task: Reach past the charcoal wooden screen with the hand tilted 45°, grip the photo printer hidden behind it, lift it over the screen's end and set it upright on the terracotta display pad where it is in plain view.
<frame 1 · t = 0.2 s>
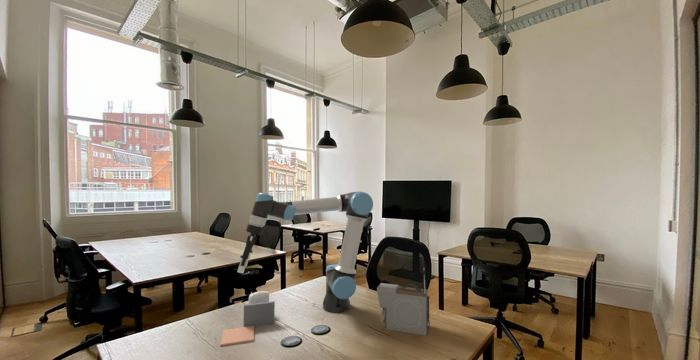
hand: (242, 269, 134), 27 cm above the table, tool tilted 15°, fingers open, 13 cm apart
display pad: (238, 336, 126), on the table
photo printer: (258, 316, 146), on the table
portable television: (403, 327, 135), on the table
screen: (259, 324, 137), on the table
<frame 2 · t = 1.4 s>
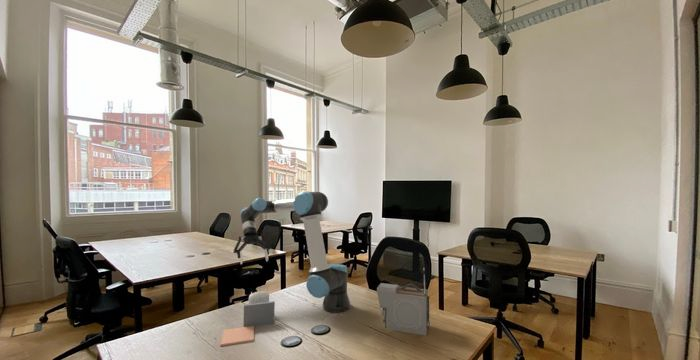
hand: (254, 261, 156), 26 cm above the table, tool tilted 45°, fingers open, 13 cm apart
nothing on the table moved.
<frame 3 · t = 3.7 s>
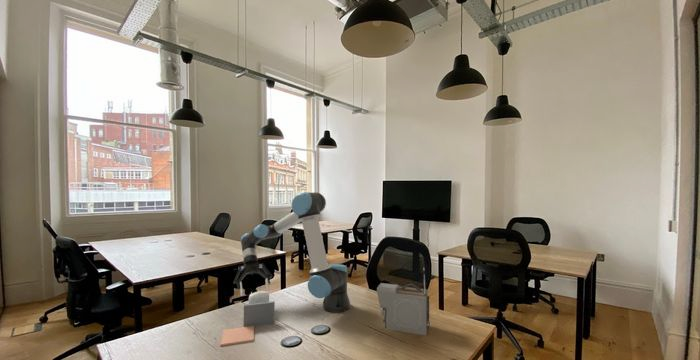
hand: (255, 292, 151), 10 cm above the table, tool tilted 45°, fingers open, 13 cm apart
nothing on the table moved.
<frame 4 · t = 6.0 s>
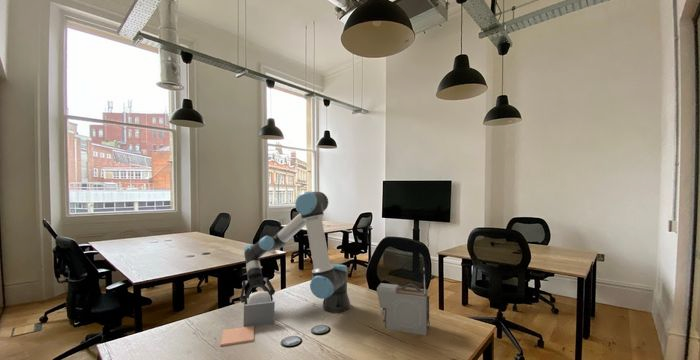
hand: (260, 309, 144), 4 cm above the table, tool tilted 45°, fingers closed on photo printer, 10 cm apart
photo printer: (258, 316, 146), on the table, touching gripper
everything else where it was.
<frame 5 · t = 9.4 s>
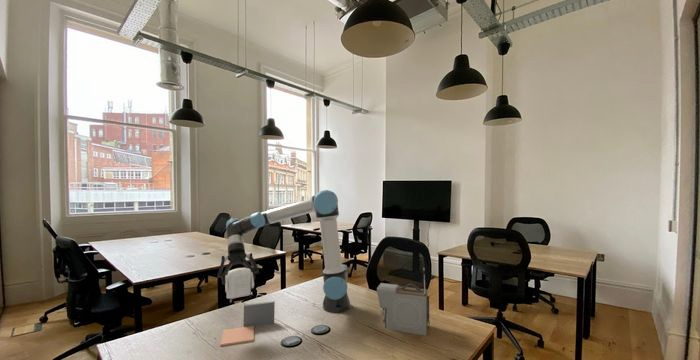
hand: (240, 288, 126), 21 cm above the table, tool tilted 45°, fingers closed on photo printer, 10 cm apart
photo printer: (238, 296, 128), point 17 cm above the table, touching gripper
everything else where it was.
when the fingers open (6 cm above the table, at t = 12.9 s): photo printer drops 1 cm, resting on display pad.
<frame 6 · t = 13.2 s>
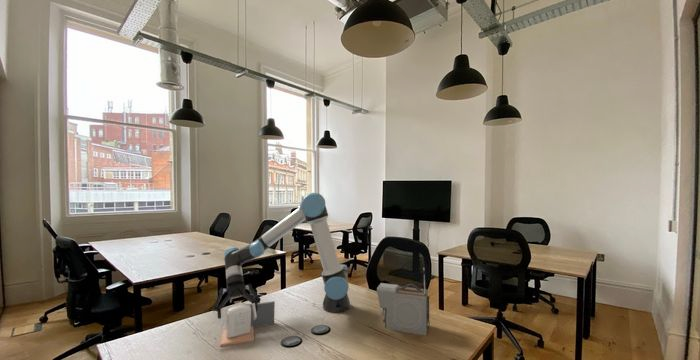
hand: (239, 321, 124), 7 cm above the table, tool tilted 45°, fingers open, 13 cm apart
photo printer: (238, 334, 126), point 1 cm above the table, touching display pad
everything else where it was.
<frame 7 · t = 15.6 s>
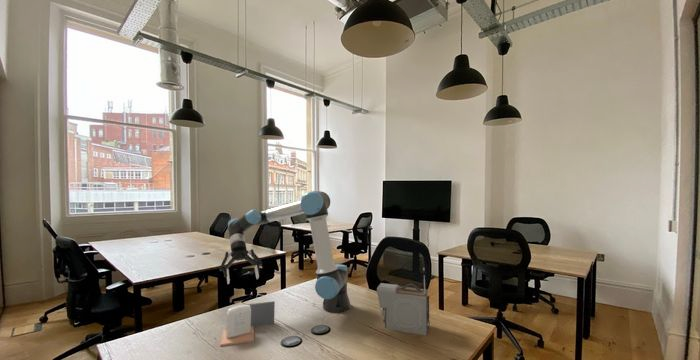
hand: (243, 280, 140), 20 cm above the table, tool tilted 45°, fingers open, 13 cm apart
nothing on the table moved.
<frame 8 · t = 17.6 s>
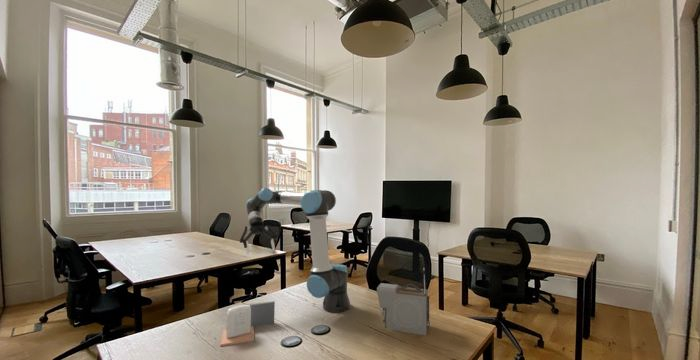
hand: (261, 251, 154), 32 cm above the table, tool tilted 45°, fingers open, 13 cm apart
nothing on the table moved.
at the end: photo printer inside the target area on the display pad (0.3 cm from its centre), point 0.6 cm above the display pad's base; photo printer tilted 0°; the gripper is holding nothing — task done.
